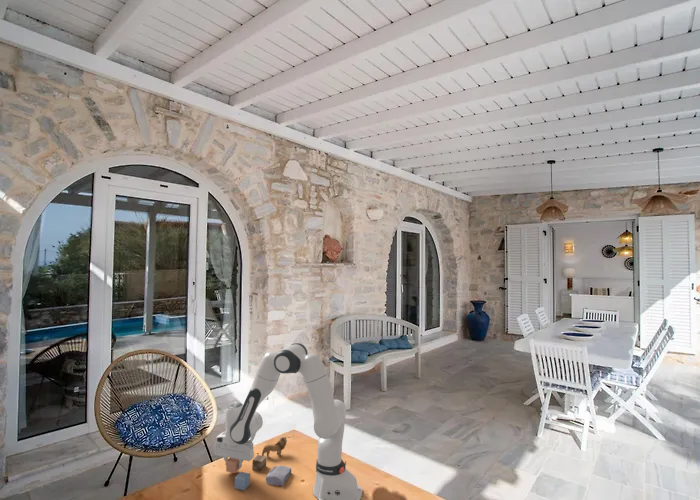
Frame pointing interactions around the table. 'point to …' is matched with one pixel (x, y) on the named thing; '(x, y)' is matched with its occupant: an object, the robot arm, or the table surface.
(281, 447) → the lion figurine
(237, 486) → the slate-blue cube
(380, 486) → the table surface
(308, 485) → the table surface
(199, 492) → the table surface
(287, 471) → the stone block
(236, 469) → the terracotta cube
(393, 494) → the table surface
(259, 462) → the walnut cube
